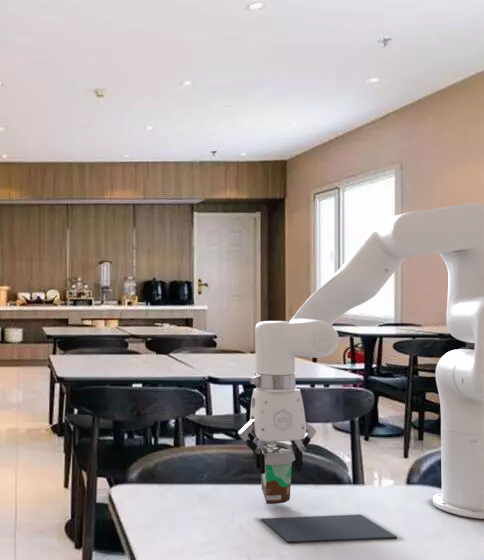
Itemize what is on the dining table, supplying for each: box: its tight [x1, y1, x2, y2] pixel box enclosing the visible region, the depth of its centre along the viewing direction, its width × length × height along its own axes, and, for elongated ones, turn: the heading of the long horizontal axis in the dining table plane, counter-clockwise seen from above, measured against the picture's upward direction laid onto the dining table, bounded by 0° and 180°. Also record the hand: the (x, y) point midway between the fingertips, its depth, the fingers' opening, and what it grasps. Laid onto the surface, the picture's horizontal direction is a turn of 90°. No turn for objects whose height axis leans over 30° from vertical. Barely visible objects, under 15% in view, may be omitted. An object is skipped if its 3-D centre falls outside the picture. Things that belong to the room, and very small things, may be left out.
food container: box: [260, 441, 295, 505], centre depth 124 cm, size 12×6×10 cm, turn 168°
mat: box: [260, 514, 398, 544], centre depth 112 cm, size 20×11×1 cm, turn 97°
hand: (278, 470), depth 124 cm, fingers closed on food container, 7 cm apart
